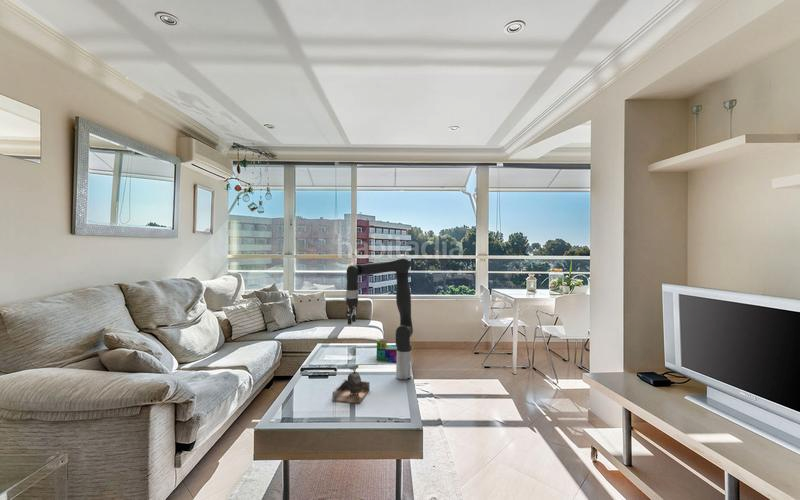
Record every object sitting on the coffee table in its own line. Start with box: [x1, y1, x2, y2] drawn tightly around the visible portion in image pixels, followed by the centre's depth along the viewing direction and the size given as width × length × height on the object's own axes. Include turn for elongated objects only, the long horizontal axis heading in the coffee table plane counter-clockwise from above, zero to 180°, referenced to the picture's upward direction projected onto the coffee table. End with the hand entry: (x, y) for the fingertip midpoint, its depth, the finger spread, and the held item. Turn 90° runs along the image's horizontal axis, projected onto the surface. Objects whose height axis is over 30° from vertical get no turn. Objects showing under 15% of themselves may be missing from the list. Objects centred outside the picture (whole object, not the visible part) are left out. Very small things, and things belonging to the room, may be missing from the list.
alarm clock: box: [347, 364, 362, 397], centre depth 209 cm, size 11×5×16 cm, turn 28°
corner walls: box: [331, 379, 370, 400], centre depth 210 cm, size 15×19×4 cm
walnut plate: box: [331, 388, 370, 405], centre depth 210 cm, size 15×19×1 cm
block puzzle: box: [376, 338, 397, 364], centre depth 279 cm, size 25×17×14 cm
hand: (351, 323), depth 239 cm, fingers open, 8 cm apart
